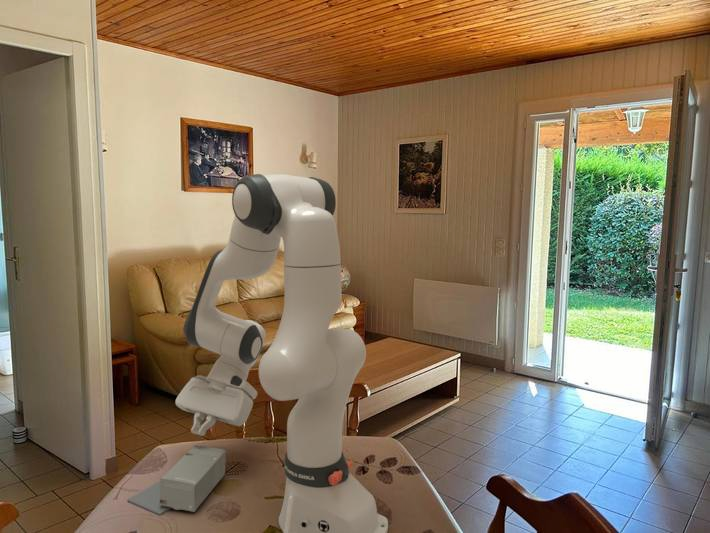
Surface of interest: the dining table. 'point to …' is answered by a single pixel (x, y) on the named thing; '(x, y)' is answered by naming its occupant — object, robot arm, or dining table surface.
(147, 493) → the mat
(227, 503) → the dining table surface
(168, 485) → the skincare box
